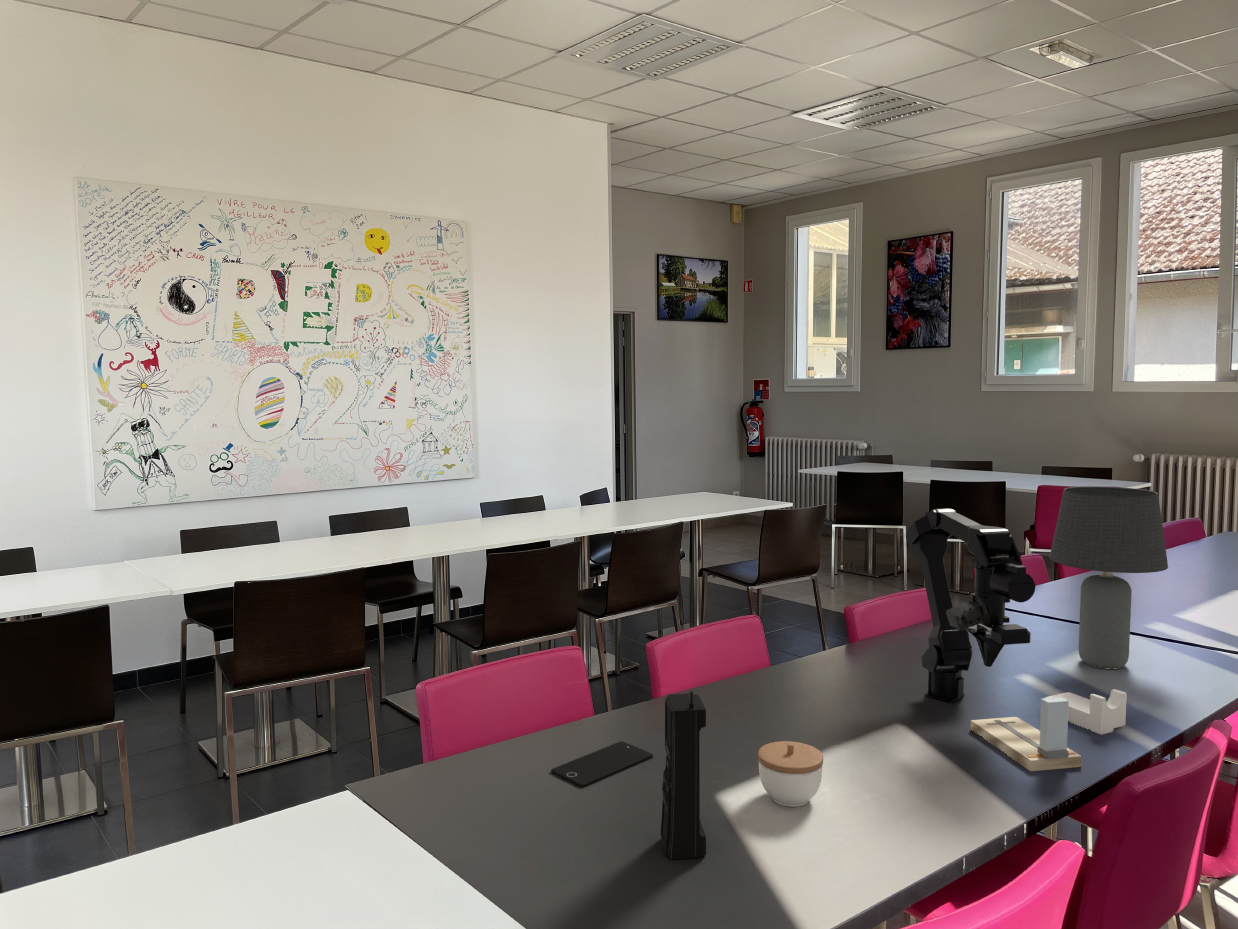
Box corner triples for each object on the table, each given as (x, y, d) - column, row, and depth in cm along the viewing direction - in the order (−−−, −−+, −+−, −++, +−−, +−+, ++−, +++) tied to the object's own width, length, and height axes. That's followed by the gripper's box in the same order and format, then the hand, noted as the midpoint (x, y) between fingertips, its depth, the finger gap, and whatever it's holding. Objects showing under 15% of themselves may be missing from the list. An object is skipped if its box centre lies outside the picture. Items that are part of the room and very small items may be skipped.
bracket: (1125, 729, 172) (1126, 693, 171) (1100, 736, 169) (1102, 698, 169) (1068, 708, 184) (1069, 673, 183) (1044, 713, 181) (1045, 678, 180)
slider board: (970, 730, 172) (970, 719, 172) (1016, 726, 174) (1016, 716, 174) (1030, 771, 153) (1031, 760, 153) (1081, 766, 155) (1081, 755, 155)
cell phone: (549, 774, 155) (549, 769, 155) (621, 745, 168) (621, 740, 167) (582, 790, 149) (582, 785, 149) (654, 759, 161) (654, 754, 161)
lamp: (1182, 667, 208) (1191, 491, 205) (1131, 689, 194) (1139, 500, 190) (1078, 643, 229) (1084, 483, 225) (1025, 660, 215) (1031, 490, 211)
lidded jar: (754, 783, 150) (754, 731, 149) (815, 784, 150) (816, 731, 149) (762, 814, 139) (762, 758, 138) (829, 814, 139) (829, 758, 138)
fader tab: (1037, 752, 156) (1039, 697, 155) (1057, 750, 157) (1059, 696, 156) (1048, 759, 153) (1050, 703, 152) (1068, 757, 154) (1070, 702, 153)
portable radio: (658, 833, 133) (657, 676, 131) (697, 831, 134) (696, 675, 132) (665, 861, 126) (664, 694, 123) (706, 858, 126) (706, 693, 124)
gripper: (928, 582, 181) (927, 654, 182) (980, 603, 162) (977, 684, 164) (977, 579, 183) (975, 651, 184) (1033, 600, 164) (1031, 680, 166)
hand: (987, 666), depth 174 cm, fingers closed
